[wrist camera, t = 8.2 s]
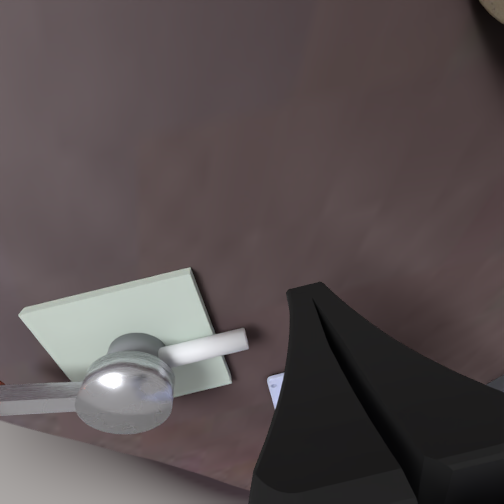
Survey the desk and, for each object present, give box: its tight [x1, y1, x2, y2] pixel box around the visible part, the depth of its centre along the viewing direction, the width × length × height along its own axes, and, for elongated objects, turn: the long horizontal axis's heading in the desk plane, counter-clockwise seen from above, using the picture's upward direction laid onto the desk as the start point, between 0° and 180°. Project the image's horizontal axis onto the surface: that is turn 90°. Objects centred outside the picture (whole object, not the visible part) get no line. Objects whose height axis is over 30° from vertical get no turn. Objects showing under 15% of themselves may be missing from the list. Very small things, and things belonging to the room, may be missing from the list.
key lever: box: [0, 351, 175, 434], centre depth 20 cm, size 13×6×3 cm, turn 86°
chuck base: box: [18, 267, 249, 397], centre depth 23 cm, size 12×14×3 cm
